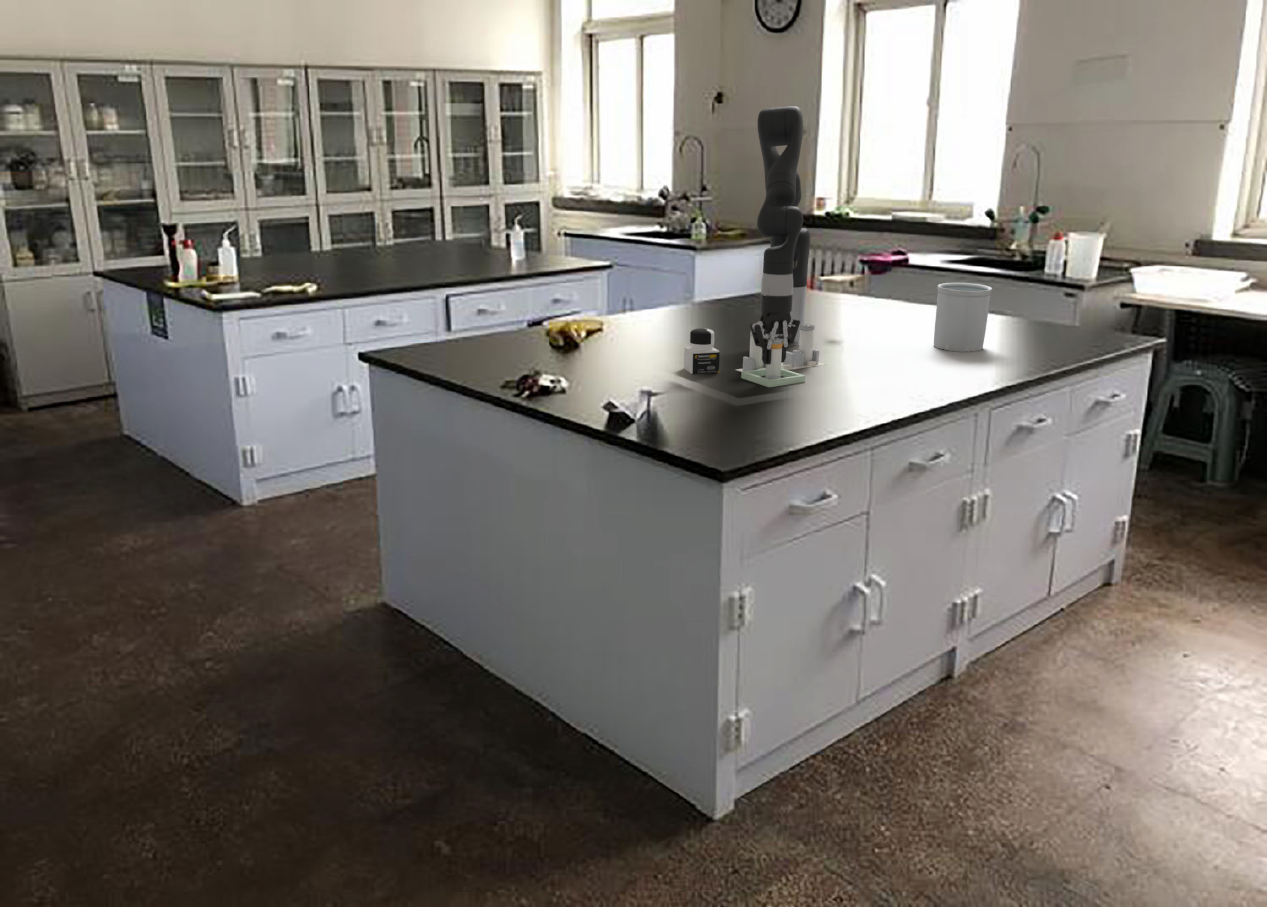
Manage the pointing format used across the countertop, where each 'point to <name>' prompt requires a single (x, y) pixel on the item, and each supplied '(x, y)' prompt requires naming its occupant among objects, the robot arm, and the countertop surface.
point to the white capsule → (806, 342)
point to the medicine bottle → (701, 353)
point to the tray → (789, 379)
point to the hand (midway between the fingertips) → (773, 362)
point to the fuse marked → (775, 359)
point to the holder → (786, 361)
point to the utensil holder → (961, 316)
